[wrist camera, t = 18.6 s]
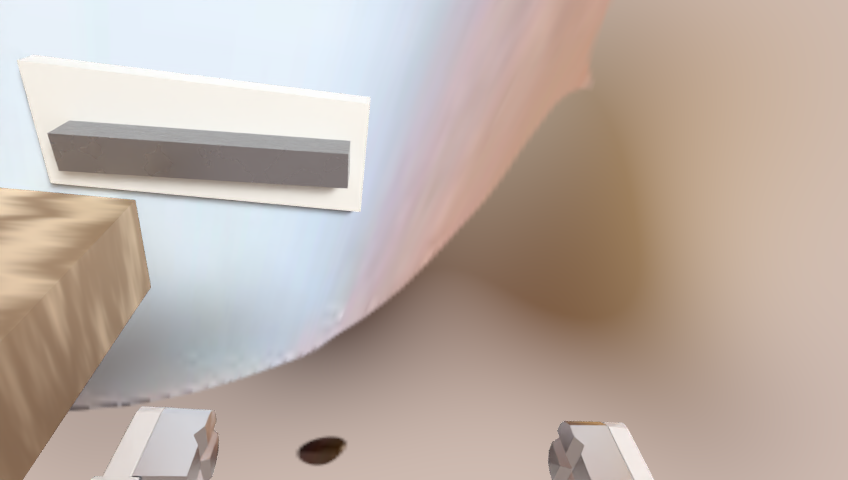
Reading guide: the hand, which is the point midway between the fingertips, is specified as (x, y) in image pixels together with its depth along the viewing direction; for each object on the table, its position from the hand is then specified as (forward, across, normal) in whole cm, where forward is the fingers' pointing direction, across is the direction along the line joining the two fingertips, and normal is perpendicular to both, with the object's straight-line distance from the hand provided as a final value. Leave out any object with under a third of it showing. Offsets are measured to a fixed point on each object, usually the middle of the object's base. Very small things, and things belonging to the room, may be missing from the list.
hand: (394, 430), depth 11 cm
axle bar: (+32, +13, +7) cm, 35 cm away
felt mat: (+34, +14, +7) cm, 37 cm away
